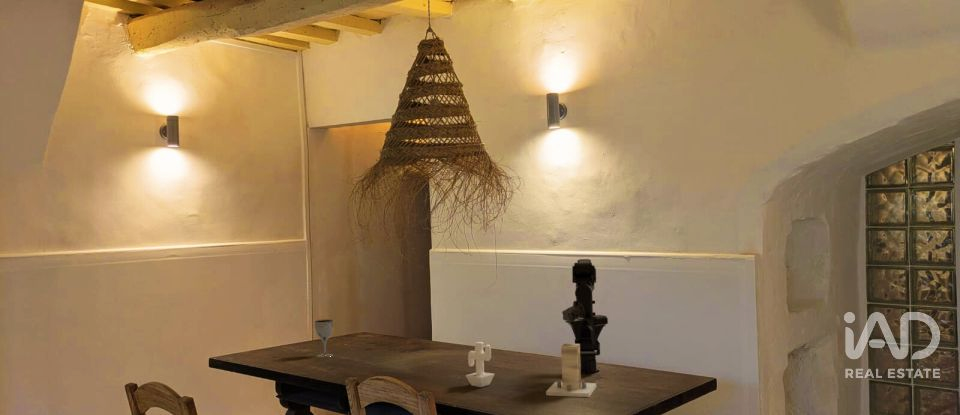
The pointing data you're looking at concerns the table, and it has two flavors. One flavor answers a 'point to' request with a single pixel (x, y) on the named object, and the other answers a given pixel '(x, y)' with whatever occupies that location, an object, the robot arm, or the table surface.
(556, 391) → the stub base plate
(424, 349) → the table surface
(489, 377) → the figurine
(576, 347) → the maple block
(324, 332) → the wine glass
